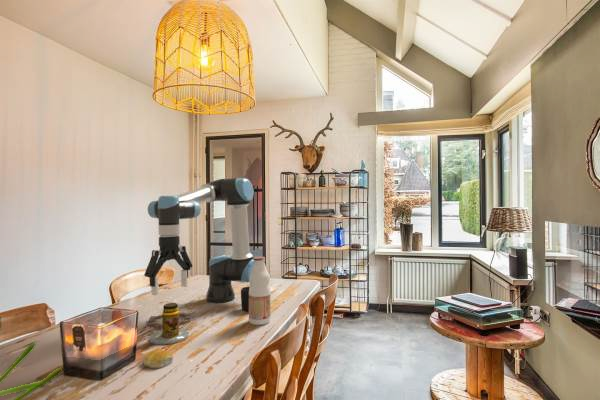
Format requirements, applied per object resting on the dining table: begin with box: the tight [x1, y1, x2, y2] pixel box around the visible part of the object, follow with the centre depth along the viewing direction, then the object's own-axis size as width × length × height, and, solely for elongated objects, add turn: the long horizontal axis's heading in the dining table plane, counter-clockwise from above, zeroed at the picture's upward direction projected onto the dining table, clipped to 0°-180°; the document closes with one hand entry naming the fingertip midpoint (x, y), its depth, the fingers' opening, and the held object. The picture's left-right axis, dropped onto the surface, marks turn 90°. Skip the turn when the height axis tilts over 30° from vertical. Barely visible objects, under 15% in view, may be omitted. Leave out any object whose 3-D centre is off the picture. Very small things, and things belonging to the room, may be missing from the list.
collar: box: [147, 311, 192, 329], centre depth 153 cm, size 17×17×2 cm
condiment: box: [154, 302, 184, 340], centre depth 134 cm, size 7×8×12 cm
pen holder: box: [240, 286, 250, 313], centre depth 169 cm, size 9×9×10 cm
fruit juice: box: [248, 256, 272, 326], centre depth 151 cm, size 9×9×28 cm
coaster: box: [149, 328, 189, 346], centre depth 134 cm, size 14×14×1 cm
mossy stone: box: [143, 348, 174, 369], centre depth 113 cm, size 8×9×4 cm
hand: (170, 290), depth 134 cm, fingers open, 13 cm apart
